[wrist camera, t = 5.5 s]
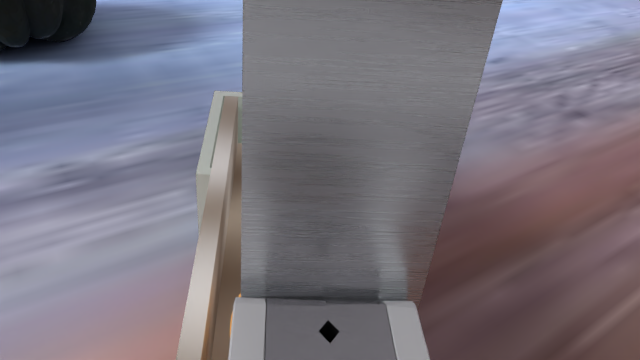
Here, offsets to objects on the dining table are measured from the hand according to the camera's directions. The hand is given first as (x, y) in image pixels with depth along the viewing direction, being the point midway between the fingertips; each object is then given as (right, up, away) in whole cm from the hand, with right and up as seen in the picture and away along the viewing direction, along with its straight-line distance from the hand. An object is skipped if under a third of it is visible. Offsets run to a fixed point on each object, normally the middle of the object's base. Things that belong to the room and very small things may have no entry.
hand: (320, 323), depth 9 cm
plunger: (-1, -5, +4) cm, 7 cm away
